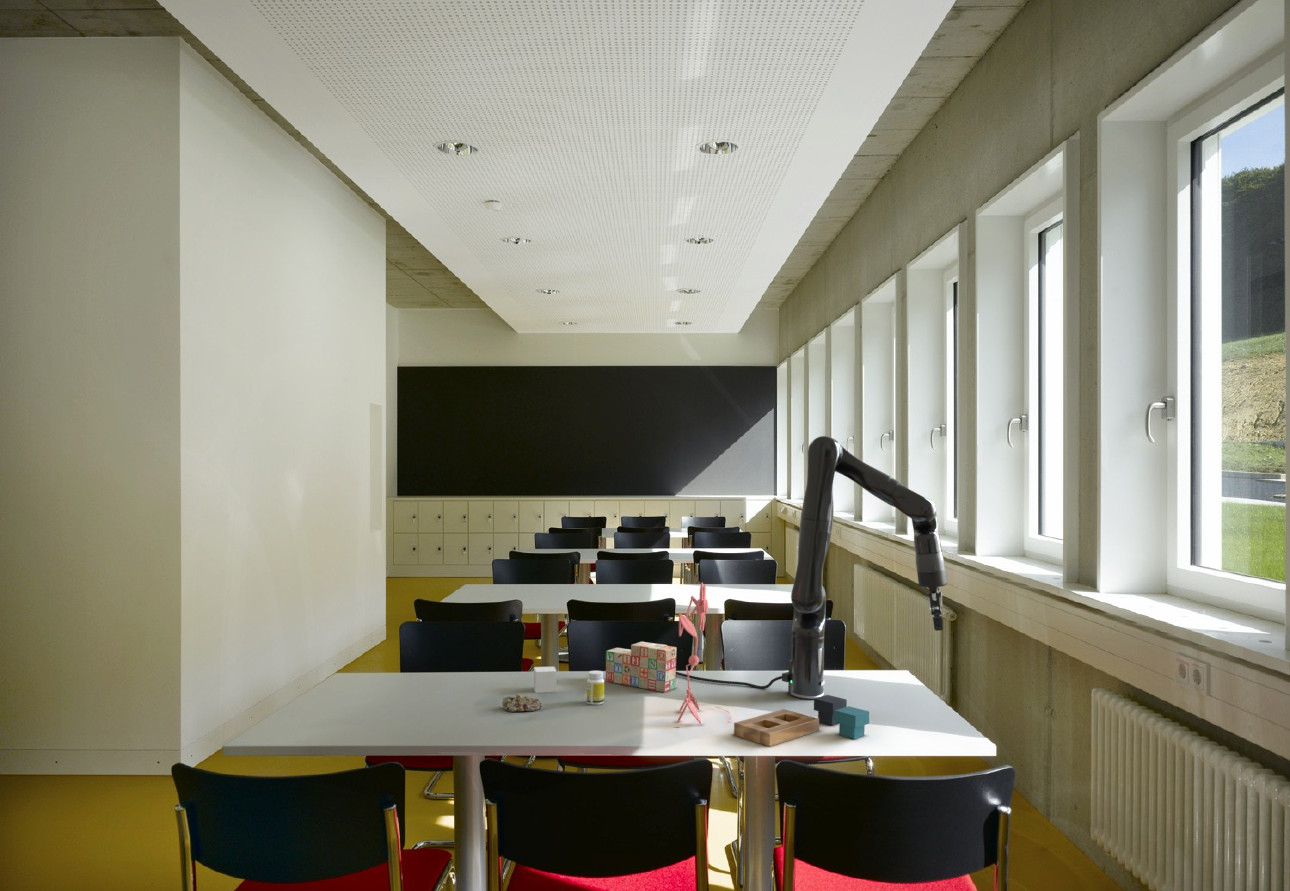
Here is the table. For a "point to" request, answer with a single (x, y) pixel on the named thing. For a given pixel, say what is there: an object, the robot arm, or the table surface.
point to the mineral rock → (521, 703)
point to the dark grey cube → (828, 708)
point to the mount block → (776, 727)
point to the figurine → (693, 660)
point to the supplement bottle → (595, 688)
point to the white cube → (545, 679)
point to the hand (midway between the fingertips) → (938, 627)
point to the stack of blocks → (643, 666)
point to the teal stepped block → (851, 721)
